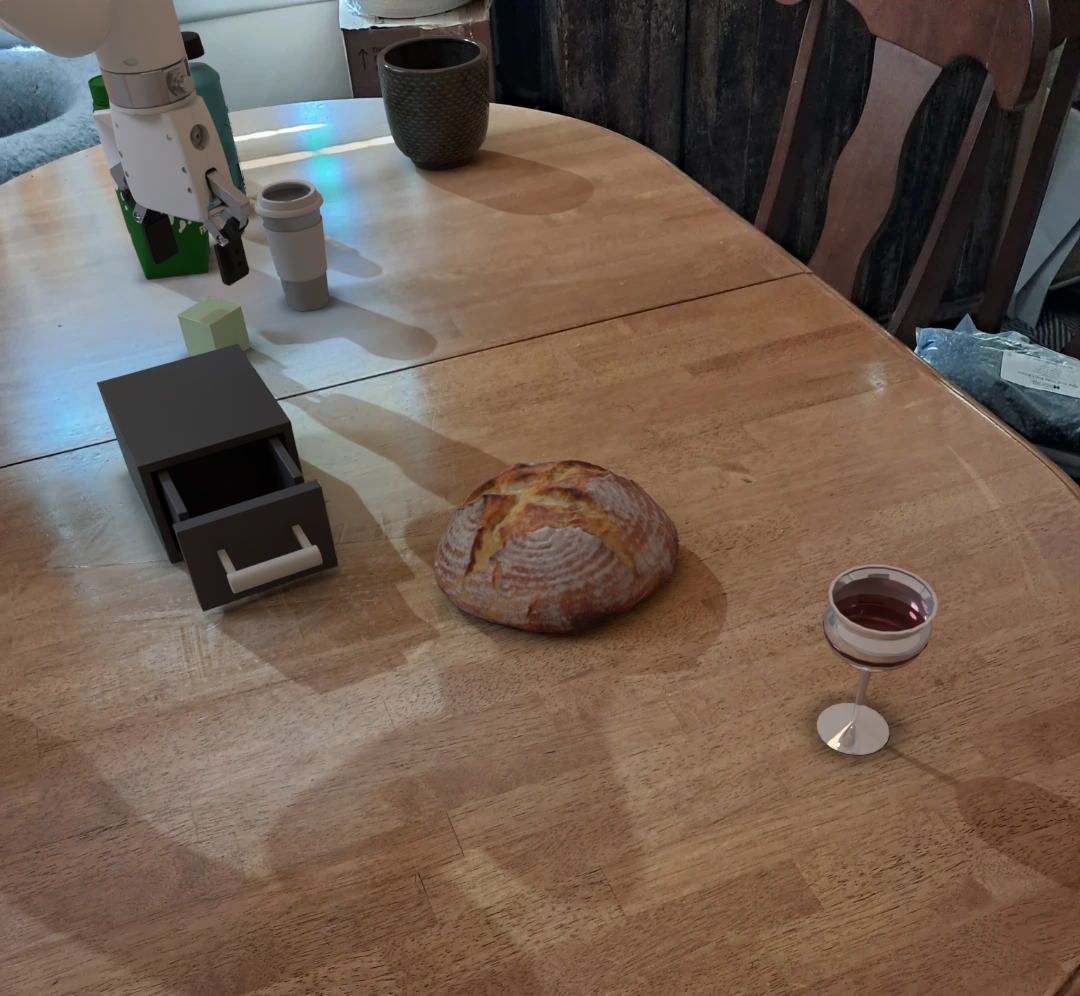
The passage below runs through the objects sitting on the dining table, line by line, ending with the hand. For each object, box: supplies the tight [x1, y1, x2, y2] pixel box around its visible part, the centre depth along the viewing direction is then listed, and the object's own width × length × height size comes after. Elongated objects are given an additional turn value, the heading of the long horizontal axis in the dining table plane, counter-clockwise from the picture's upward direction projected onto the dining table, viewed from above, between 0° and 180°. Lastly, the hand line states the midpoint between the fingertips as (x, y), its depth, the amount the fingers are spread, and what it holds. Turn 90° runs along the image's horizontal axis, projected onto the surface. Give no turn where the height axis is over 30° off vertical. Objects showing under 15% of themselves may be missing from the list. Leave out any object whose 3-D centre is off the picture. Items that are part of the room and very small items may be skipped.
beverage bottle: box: [181, 30, 248, 210], centre depth 137 cm, size 6×7×20 cm
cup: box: [254, 179, 330, 312], centre depth 123 cm, size 7×7×12 cm
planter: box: [376, 34, 490, 172], centre depth 149 cm, size 14×14×13 cm
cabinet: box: [96, 344, 306, 564], centre depth 99 cm, size 15×13×10 cm
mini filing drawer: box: [152, 435, 339, 613], centre depth 92 cm, size 18×11×8 cm, turn 27°
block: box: [177, 295, 252, 357], centre depth 119 cm, size 5×5×5 cm
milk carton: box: [87, 74, 211, 280], centre depth 128 cm, size 9×9×20 cm
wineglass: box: [816, 564, 939, 756], centre depth 76 cm, size 7×7×12 cm
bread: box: [433, 459, 680, 635], centre depth 90 cm, size 16×20×10 cm
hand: (200, 268), depth 114 cm, fingers open, 9 cm apart
